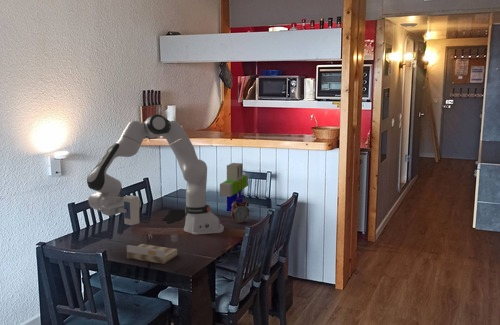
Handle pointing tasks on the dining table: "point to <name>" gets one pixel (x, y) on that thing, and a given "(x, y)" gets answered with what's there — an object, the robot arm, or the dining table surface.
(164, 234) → the dining table surface
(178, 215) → the toy
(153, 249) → the beige flat block
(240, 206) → the alarm clock
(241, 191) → the toy
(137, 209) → the carton
